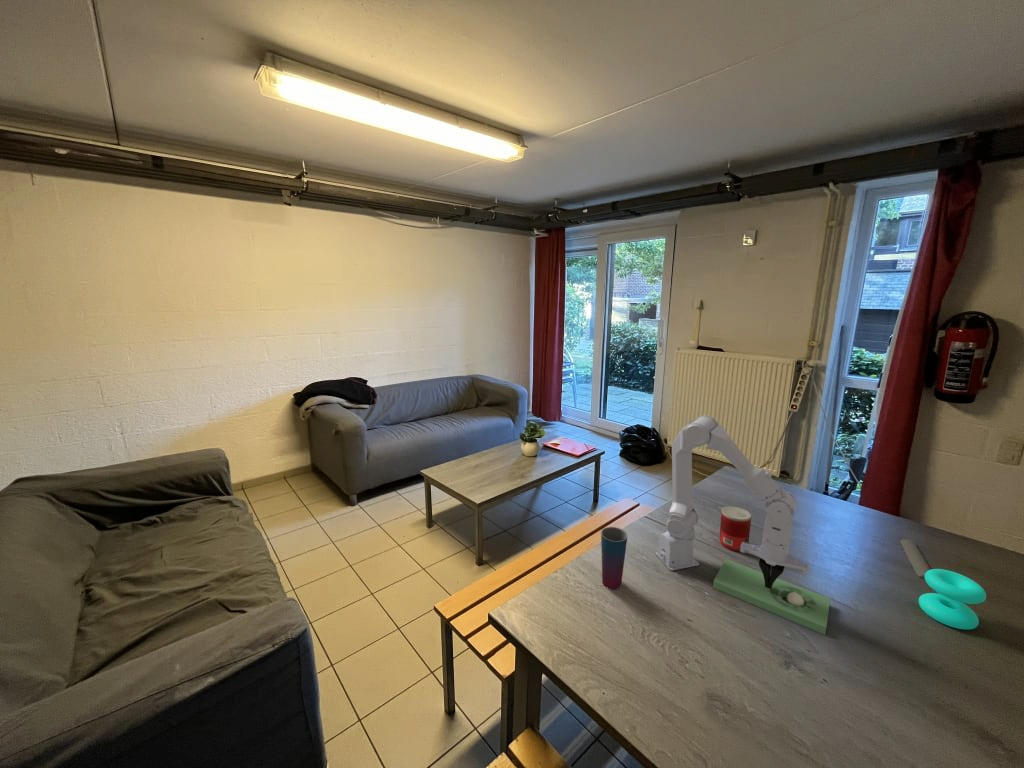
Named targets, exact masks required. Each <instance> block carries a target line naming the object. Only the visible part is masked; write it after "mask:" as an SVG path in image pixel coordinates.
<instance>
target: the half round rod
mask: <svg viewBox="0 0 1024 768" xmlns="http://www.w3.org/2000/svg"><path fill="white" fill-rule="evenodd" d="M899 541H900V542H901V544H902V546H903V548H904V550H905V551H904V550H903V551H904V553H905V552H906V553H905V555H906V554H907V555H906V557H907V556H908V557H907V559H908V561H909V563H910V562H911V563H910V564H912V565H911V566H913V567H912V568H913V570H914V573H915V575H916V576H917V575H918V576H917V577H918V578H921V577H922V579H925V573H926V572H927V571H928V570H931V568H930V566H929V565H928V562H927V561H926V559H925V558H924V556H923V554H922V553H921V551H920V549H919V547H918V546H917V545H916V543H915V542H914V541H913V540H911V539H908V538H903V539H900V540H899ZM900 542H899V543H900ZM901 544H900V545H901ZM902 546H901V547H902ZM917 547H918V548H917ZM903 548H902V549H903Z"/></svg>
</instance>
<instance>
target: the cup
mask: <svg viewBox="0 0 1024 768" xmlns="http://www.w3.org/2000/svg"><path fill="white" fill-rule="evenodd" d="M600 535H601V536H600V537H601V538H600V540H601V541H600V542H601V546H600V547H601V582H602V583H601V584H602V585H603V586H604V587H605V588H607V587H608V588H607V589H609V588H611V589H610V590H613V589H614V590H618V589H620V588H621V587H620V586H622V580H623V573H624V564H625V560H626V559H625V558H626V550H627V545H628V543H627V542H628V533H627V532H626V531H625V530H624V529H622V528H620V527H616V526H607V527H605V528H603V529H602V530H601V531H600ZM617 588H618V589H617Z"/></svg>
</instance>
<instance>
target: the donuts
mask: <svg viewBox="0 0 1024 768" xmlns="http://www.w3.org/2000/svg"><path fill="white" fill-rule="evenodd" d="M930 569H931V568H930ZM924 581H925V582H926V584H927V586H929V587H930V588H931V589H932V590H933V591H935V592H936V593H935V592H927V593H924V594H921V595H920V596H919V598H918V605H919V607H920V608H921V610H922V611H923V612H924V613H925V614H926V615H927V616H929V617H930V618H932V619H933V620H935V621H937V622H940V623H941V624H943V625H946V626H948V627H951V628H955V629H959V630H966V631H967V630H974V629H976V628H977V627H978V626H979V625H980V624H979V623H980V620H979V617H978V615H977V614H976V613H975V611H974V610H973V609H971V607H969V606H968V605H966V604H969V605H974V604H975V605H977V604H982V603H983V602H984V601H986V599H987V592H986V591H985V589H984V588H983V587H982V586H981V585H980V584H979V583H977V581H975V580H973V579H971V578H969V577H967V576H965V575H963V574H960V573H958V572H955V571H952V570H947V569H943V568H942V569H941V568H933V569H931V570H928V571H927V572H926V573H925V578H924Z"/></svg>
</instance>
